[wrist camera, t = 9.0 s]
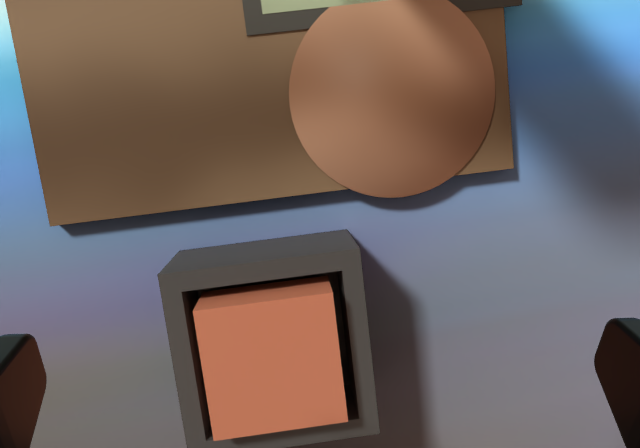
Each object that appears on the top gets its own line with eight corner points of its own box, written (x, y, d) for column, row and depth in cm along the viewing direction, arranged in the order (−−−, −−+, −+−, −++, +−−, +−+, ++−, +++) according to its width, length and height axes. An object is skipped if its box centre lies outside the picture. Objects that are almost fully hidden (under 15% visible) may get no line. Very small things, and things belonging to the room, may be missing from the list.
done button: (341, 391, 19) (347, 421, 17) (220, 408, 18) (213, 441, 16) (327, 275, 18) (332, 292, 16) (202, 291, 18) (192, 311, 16)
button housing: (364, 385, 21) (380, 433, 18) (205, 407, 21) (189, 461, 17) (346, 229, 20) (359, 248, 17) (179, 250, 20) (157, 274, 16)
